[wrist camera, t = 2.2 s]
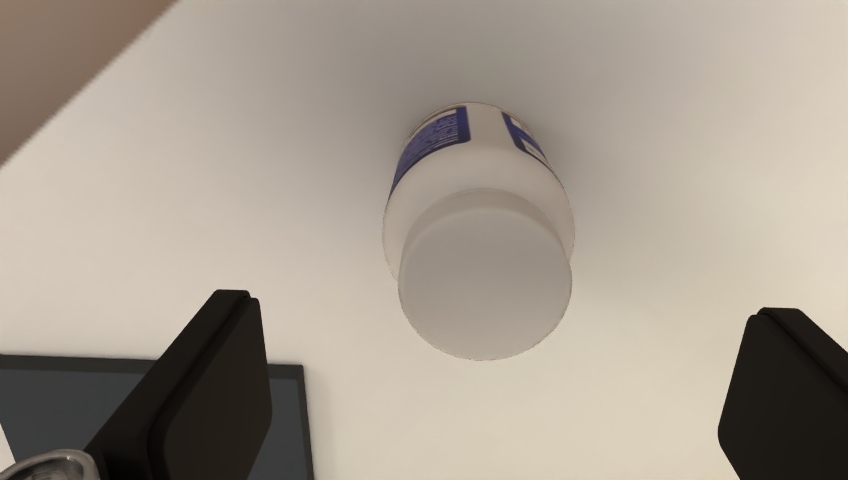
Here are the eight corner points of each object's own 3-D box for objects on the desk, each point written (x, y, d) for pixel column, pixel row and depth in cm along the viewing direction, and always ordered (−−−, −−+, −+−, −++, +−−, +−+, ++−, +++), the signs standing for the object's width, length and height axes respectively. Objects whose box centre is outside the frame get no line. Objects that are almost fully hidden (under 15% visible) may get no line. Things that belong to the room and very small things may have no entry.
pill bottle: (395, 231, 22) (361, 373, 14) (403, 94, 20) (369, 168, 12) (531, 242, 22) (577, 393, 14) (554, 107, 20) (625, 190, 12)
